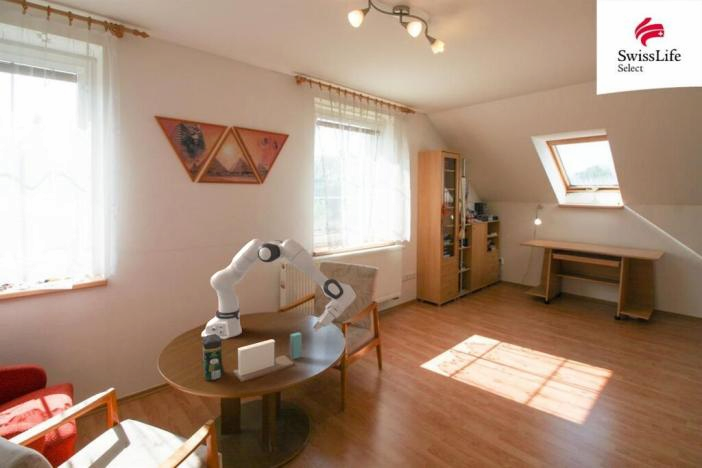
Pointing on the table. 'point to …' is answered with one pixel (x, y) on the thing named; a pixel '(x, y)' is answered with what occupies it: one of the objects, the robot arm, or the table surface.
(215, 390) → the table surface
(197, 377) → the table surface
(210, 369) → the coffee jar
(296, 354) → the teal rectangular block
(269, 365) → the stand
